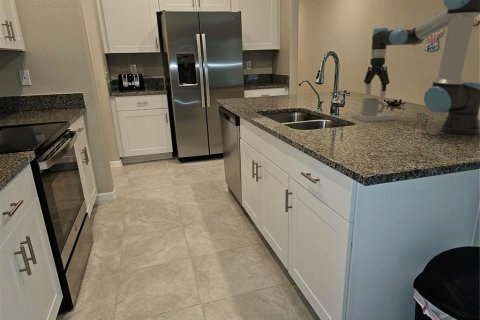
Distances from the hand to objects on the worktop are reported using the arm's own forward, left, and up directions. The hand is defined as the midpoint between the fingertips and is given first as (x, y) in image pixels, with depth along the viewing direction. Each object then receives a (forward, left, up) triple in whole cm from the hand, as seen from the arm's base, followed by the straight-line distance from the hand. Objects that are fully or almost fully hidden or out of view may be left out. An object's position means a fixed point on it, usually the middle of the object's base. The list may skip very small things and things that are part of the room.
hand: (374, 96), depth 182 cm
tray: (0, 0, -13) cm, 13 cm away
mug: (0, 0, -13) cm, 13 cm away
